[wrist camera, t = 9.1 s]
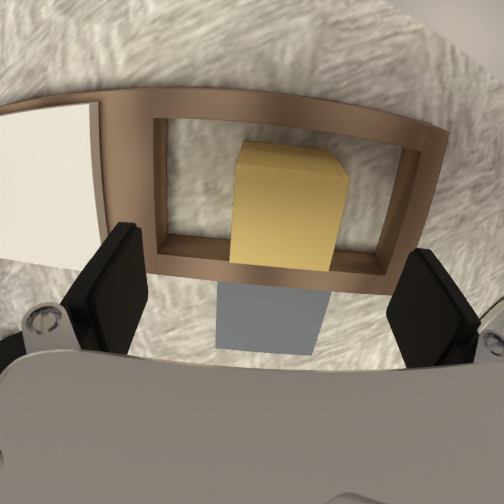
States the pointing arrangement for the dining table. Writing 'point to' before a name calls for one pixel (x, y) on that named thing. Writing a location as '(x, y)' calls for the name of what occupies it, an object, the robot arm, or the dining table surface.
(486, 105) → the dining table surface
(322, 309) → the mat
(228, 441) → the robot arm
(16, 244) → the lid
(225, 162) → the dining table surface
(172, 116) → the brown box
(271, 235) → the block
